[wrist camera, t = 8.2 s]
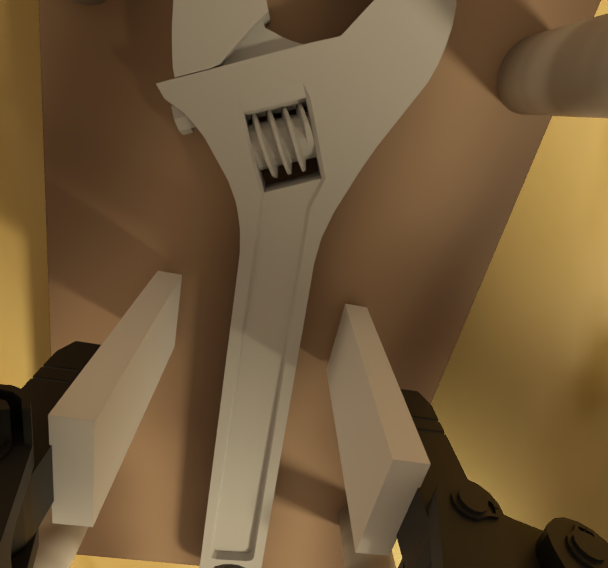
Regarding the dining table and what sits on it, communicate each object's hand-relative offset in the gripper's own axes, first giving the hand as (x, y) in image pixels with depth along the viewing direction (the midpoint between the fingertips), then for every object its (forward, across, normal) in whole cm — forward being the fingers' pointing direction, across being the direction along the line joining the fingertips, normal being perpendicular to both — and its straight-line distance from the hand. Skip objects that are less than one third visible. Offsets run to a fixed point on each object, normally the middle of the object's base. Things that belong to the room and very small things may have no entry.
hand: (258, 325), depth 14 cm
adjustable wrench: (+1, 0, 0) cm, 1 cm away
